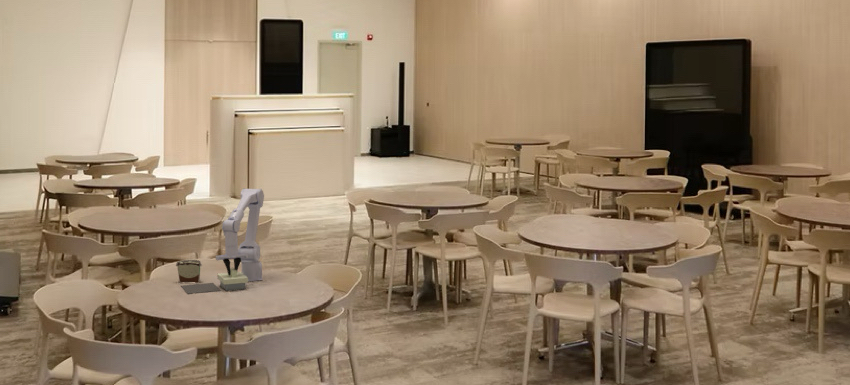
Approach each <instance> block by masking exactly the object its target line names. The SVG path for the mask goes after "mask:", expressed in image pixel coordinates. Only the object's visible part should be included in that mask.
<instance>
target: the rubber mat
mask: <svg viewBox="0 0 850 385" xmlns="http://www.w3.org/2000/svg"><path fill="white" fill-rule="evenodd" d="M180 287H181V288H182V290H185V291H184V292H185V293H186V294H187V295H192V293H195V294H201V293H202V294H203V293H213V292H214V293H215V292H221V291H222V289H220V288H219V287H218V286H217V284H215V283H214V282H207V283H192V284H183V285H180Z"/></svg>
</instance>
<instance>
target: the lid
mask: <svg viewBox="0 0 850 385" xmlns="http://www.w3.org/2000/svg"><path fill="white" fill-rule="evenodd" d="M216 278H217V279H218V280H219V282H220V281H221V282H222V283H223V284H224V285H225V284H236V283H245V284H247V283H249V281H248V277H247V276H245V275H244V274H243V273H242V271H238V270H235V269H234V267H230V275H228V272H219V273H217V276H216Z"/></svg>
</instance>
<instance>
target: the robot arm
mask: <svg viewBox="0 0 850 385" xmlns="http://www.w3.org/2000/svg"><path fill="white" fill-rule="evenodd" d="M239 196H240V199H239V202H238V204H237V207H236V208H234V209H232V210H231V212H230V214H229V216H228V218H227V219H225V220H224V221H223V222H222V223H221V224H222V225H221V230H222V232H223V236H224V246H225V248H224V249H225V251H224V252H225V253H224V254H220V255H215V260H216V261H217V262H219V261H223V263H224V266H225V269H226V270H227V272H226V273H228V275H230V268H231V261H230V260H233V265H234V267H233V268H234V269H235V270H237V271H238V269H239V268H240V267H241V272H242V273H243V274H244V275H245V276H247V277H248V282H257V281H263V266H262V261H260V258H261V246H260V245H259V244H258V243H257V242H256V240H257V233H258V228H259V227H258V226H259V219H260V213H261V212H260V211H261V208H262V207H263V205H264V201H265V200H264V199H265V194H264V190H263V189H262V188H243V189H241V191H240V195H239ZM247 208H248V216H247V224H246V230H245V235H244V236H245V238H244V241H242V242H240V244H239V242H238V241H239V239H238V232H239V231H240V227H241V222H242V220H243V218H244V217H245V213H244V212H245V211H246V209H247ZM238 244H239V245H238ZM240 264H241V266H240Z"/></svg>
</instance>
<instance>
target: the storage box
mask: <svg viewBox="0 0 850 385" xmlns="http://www.w3.org/2000/svg"><path fill="white" fill-rule="evenodd" d="M219 283H220V287H221V288H222V289H223V290H225V291H226V292H229V291H231V292H232V291H241V290H242V291H243V290H246V283H236V284H225V285H224V284H223V283H222V282H221V281H220V280H219Z"/></svg>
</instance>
